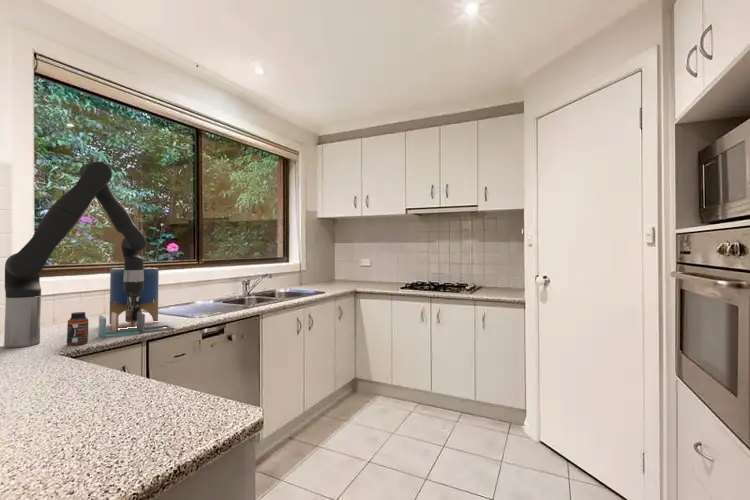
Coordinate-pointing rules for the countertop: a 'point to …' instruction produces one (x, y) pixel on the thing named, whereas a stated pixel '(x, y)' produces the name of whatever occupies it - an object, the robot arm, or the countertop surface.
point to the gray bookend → (143, 329)
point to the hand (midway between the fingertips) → (133, 319)
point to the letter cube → (130, 315)
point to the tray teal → (113, 333)
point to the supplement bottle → (77, 329)
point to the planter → (147, 295)
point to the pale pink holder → (115, 323)
